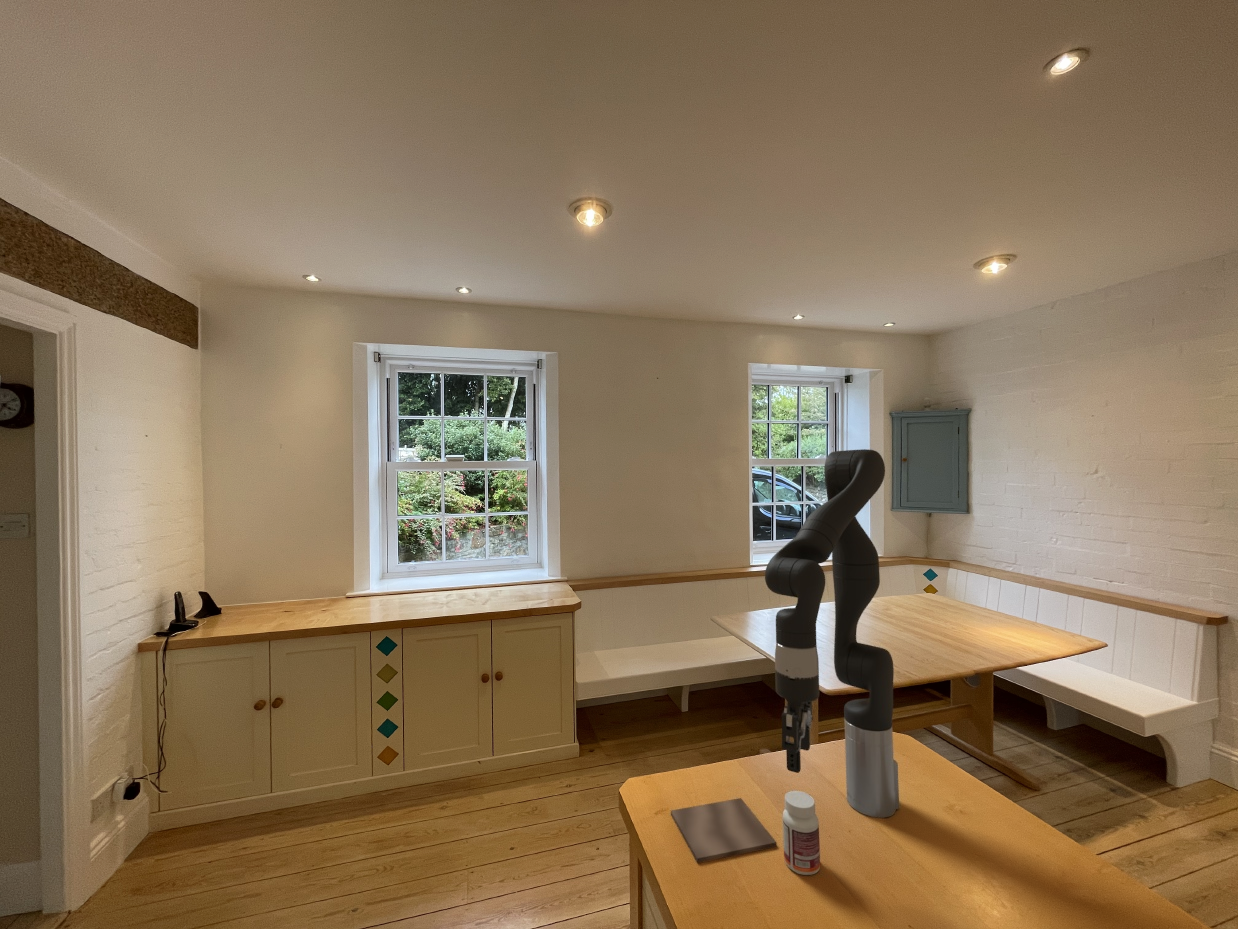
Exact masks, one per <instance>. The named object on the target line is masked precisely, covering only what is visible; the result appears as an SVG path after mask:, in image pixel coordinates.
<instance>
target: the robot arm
mask: <svg viewBox="0 0 1238 929" xmlns="http://www.w3.org/2000/svg"><path fill="white" fill-rule="evenodd" d="M823 468H824V470H823V471H824V474H823V475H824V485H825V492H826V497H827V498H826V499H827V501H826V502H824V503H822V504H821V505H819V507H817V508H816V509H814V510H813V511H812V512H811V513H810V514H809V515H808V517H807V518H806V519H805V521H804V522H803V524H802V526H801V527H800V529H799V530H798V532H797V533H796V535H795V537H794V538H793V539H791V540H790V541H788V543H786V544H785V545H784V546H783V547H782V548H781V549H780V550H778V551H777V552H776V553H775V554H774V555H773V556H772V558H770V559H769V561H768V564H767V565H766V568H765V572H764V581H765V585H766V586H767V588H768V589H769V591H771V592H772V593H774V594H776V595H780V596H785V597H791V598H792V597H793V598H797V601H796V604H795V607H787V608H782V609H780V610H778V611H777V612H776V615H775V652H774V670H775V671H774V673H775V674H774V675H775V676H774V677H775V692H776V694H777V695H778V696H780V697H781V698H783V699H785V700H786V702H787V704H786V705H784V708H783V709H784V710H783V712H782V713H781V747H782V750H786V753H785V754H786V769H787V770H788V771H789V772H792V773H798V774H799V773H800V772H801V769H802V767H801V766H802V765H801V750H803V751H809V750H810V749H811V732H810V730H811V727H812V722H813V719H814V717H813V702H815V701H817V699H819V698H820V672H819V669H820V668H819V667H820V666H819V654H818V649H817V648H818V647H817V621H818V615H819V610H820V608H821V607H820V606H821V602H822V598H823V596H824V593H825V587H826V575H825V572H824V569H823V568H822V566H821V565H820V564H823V563H825V562H826V561H827V560H829V558H830V557H831V560H832V561H831V563H832V578H833V579H832V581H833V592H834V607H835V608H834V615H835V617H834V618H835V619H834V623H835V624H834V646H833V647H834V648H833V663H834V672H835V675H836V678H837V679H838V681H839V682H840V683H842V684H844V685H847V686H850V687H854V688H858V689H860V690H864V691H867V692H869V696H868V698H860V699H859V698H857V699H856V698H855V699H851V700H850V701H849V700H848V701H847V702H846V703H845V704H844V707H843V713H844V714H843V715H844V716H843V718H844V745H845V746H844V749H845V751H844V752H845V776H846V777H845V783H846V800H847V801H846V802H847V803H848V804H849V806H851V808H853V809H854V810H856V811H857V812H859V813H861V814H863V815H865V816H868V817H872V818H879V819H880V818H888V817H892V816H893V815H894V814H895V812H896V811H897V810H900V790H899V789H900V788H899V764H898V762H897V761H896V760H895V758H894V737H893V713H894V678H895V677H894V675H895V674H894V669H895V668H894V661H893V660H894V659H893V657H892V655H891V653H890V650H888V649H886V648H883V647H880V646H875V645H872V644H867V643H861V642H858V641H857V640H858V639H857V628H858V624H859V620H860V618H861V617H862V614H863V613H864V611H865V610H866V608H867V607H868V605H870V603H871V602H872V600H873V598H874V597H875V595H876V594H877V591H878V590H879V587H880V585H881V584H880V582H881V579H880V578H881V576H880V559H879V553H878V551H877V549H876V546H875V544H874V543H873V541H872V540H871V538H870V537H869V534H867V532H866V530H864V528H863V526H862V525H861V524H860V523H859V521H858V518H857V514H859V513H860V511H862V509H863V508H865V506H866V505H867V504H868V503H869V501H870V500H871V499H872V498H873V497H874V496H875V494H876V493H878V490H879V489H880V487H881V486H882V484H883V482H884V479H885V475H886V465H885V461H884V458H883V457H882V455H881V454H880V453H879V452H878V451H877V450H875V449H865V448H864V449H863V448H862V449H850V450H849V449H848V450H847V449H846V450H837V451H836V450H835V451H831V452H830V453H829V454H828V455H827V456H826V459H825V462H824V467H823ZM790 738H793V741H790ZM896 809H897V810H896Z"/></svg>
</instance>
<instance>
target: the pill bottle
mask: <svg viewBox="0 0 1238 929" xmlns="http://www.w3.org/2000/svg"><path fill="white" fill-rule="evenodd" d="M815 802H816V801H815V799H814V798H813V797H812V796H811V794H809V793H807V792H804V791H802V790H801V791H800V790H791V791H788V792H786V793H785V794H784V810H783V812H782V838H783V859H784V863H785V864H786V866H787V867H788V868H789V869H790V870H791V871H793V872H794V873H796V874H799V875H803V876H811V875H815V874H817V873H818V872H819V870H821V869H820V868H821V851H820V824H819V823H820V821H819V817H818V816H817V814H816V803H815Z"/></svg>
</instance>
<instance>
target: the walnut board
mask: <svg viewBox="0 0 1238 929" xmlns="http://www.w3.org/2000/svg"><path fill="white" fill-rule="evenodd" d="M670 816H671V818H672V820H673V821H674V823H675V825H676V827H677V828H678V831H679V833H680V834H681V836H682V837H683V838H682V839H683V840H684V841H685V843H686V845H687V847H688V848H689V851H690V852H691V854H692V855H693V858H694V859H695V862H696V863H697V864H700V863H704V862H708V861H713V860H717V859H724V858H729V857H732V856H738V855H743V854H747V853H753V852H757V850H758V851H761V850H762V851H763V850H766V849H767V850H768V849H771V848H777V844H778V843H777V841H776V840H775V837H773V836H772V835H771V833H770V832H769V831H768V830H767V828H766V827H765V826H764V825H763V823H762V822H761V821H760V820H759V819H758V817H757V816H756V815H755V814H754V813H753V811H752V810H751V809H750V807H749V806H748V805H747V804H746V803H745V801H744V800H743V798H742V797H740V798H738V797H737V798H734V799H729V800H728V799H726V800H723V801H717V802H711V803H706V804H705V803H704V804H701V805H694V806H689V807H688V806H687V807H682V808H677V809H672V810H670Z"/></svg>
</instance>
